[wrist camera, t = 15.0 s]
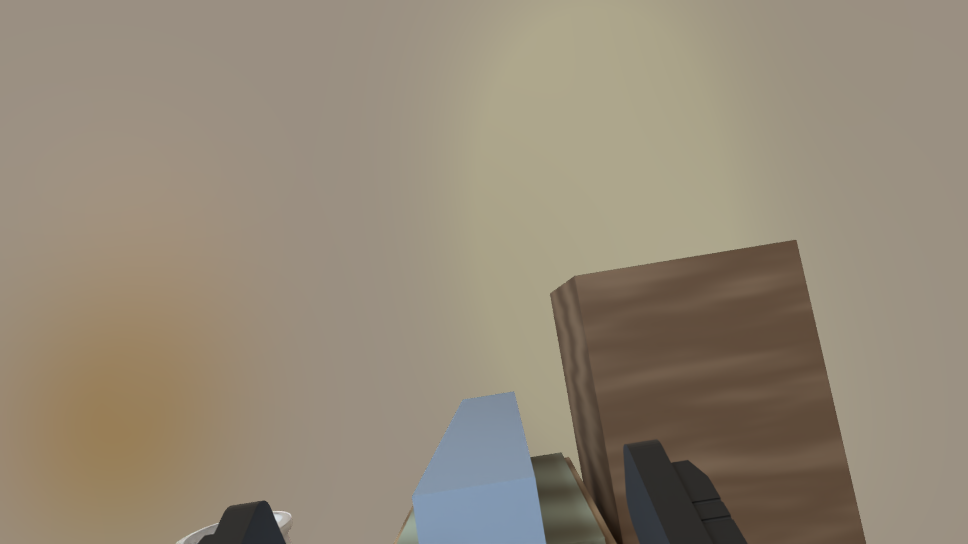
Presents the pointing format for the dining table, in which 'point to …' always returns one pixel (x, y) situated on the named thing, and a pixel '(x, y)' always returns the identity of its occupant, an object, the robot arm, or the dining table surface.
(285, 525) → the jar
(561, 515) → the tall wooden block
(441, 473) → the bar
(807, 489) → the stand
